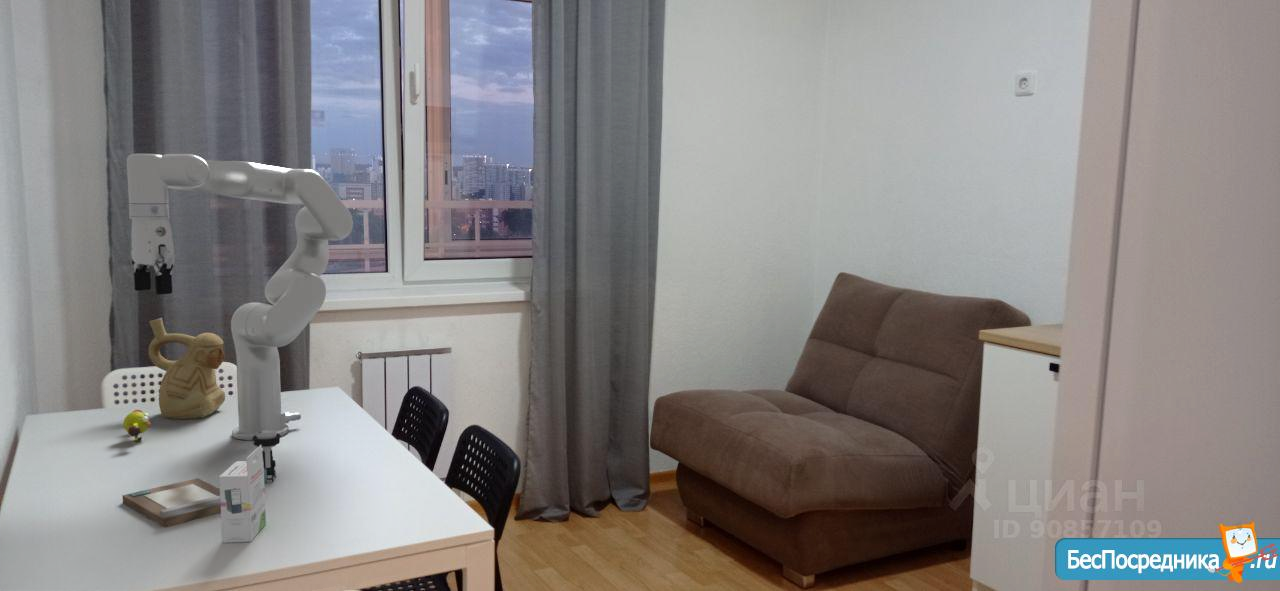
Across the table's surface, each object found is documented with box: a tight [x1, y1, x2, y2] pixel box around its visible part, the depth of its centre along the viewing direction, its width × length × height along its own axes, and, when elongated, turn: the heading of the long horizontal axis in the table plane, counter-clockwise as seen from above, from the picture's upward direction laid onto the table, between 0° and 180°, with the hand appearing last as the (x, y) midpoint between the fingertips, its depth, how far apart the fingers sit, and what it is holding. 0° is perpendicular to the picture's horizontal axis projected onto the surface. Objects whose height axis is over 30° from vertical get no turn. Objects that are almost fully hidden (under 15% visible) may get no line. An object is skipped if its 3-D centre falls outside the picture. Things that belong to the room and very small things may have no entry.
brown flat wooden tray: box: [122, 477, 221, 528], centre depth 173 cm, size 14×18×3 cm
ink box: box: [218, 445, 267, 544], centre depth 159 cm, size 9×5×15 cm, turn 5°
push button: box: [252, 429, 282, 484], centre depth 188 cm, size 7×5×10 cm
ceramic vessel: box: [148, 317, 226, 420], centre depth 238 cm, size 17×20×25 cm
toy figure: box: [123, 409, 152, 442], centre depth 215 cm, size 18×6×7 cm, turn 26°
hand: (153, 291), depth 199 cm, fingers open, 9 cm apart
